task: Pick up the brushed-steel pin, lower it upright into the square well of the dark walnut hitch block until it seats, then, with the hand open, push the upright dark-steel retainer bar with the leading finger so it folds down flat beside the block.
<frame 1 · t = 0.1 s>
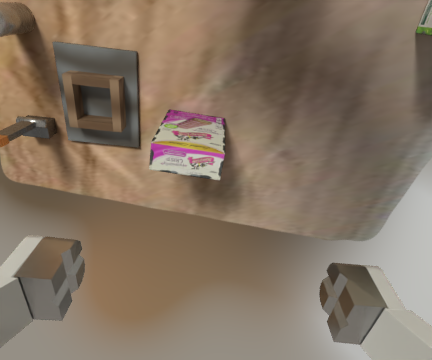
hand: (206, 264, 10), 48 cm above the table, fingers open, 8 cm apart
retainer base: (41, 116, 57), on the table
hitch block: (101, 98, 55), on the table
retainer bar: (11, 132, 49), point 9 cm above the table, hinge at 4.0°
candy bar box: (195, 123, 58), on the table
steel pin: (21, 17, 48), on the table
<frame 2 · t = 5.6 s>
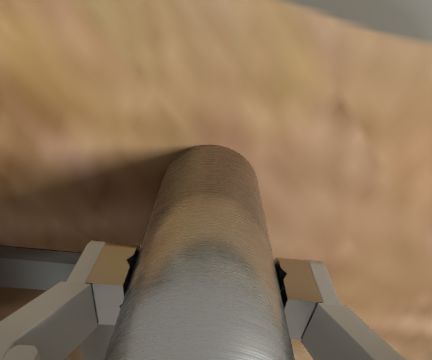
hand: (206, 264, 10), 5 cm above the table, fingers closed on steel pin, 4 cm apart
hitch block: (11, 322, 19), on the table
steel pin: (210, 188, 14), on the table, touching gripper
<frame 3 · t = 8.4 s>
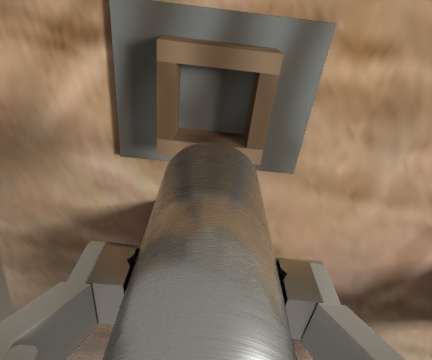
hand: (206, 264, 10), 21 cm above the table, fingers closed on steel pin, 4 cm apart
hitch block: (215, 95, 27), on the table
steel pin: (210, 185, 14), point 16 cm above the table, touching gripper
when the fingers open (7 cm above the table, at t = 11.3 s): steel pin drops 1 cm, resting on hitch block.
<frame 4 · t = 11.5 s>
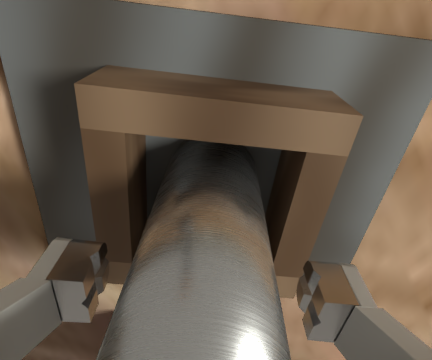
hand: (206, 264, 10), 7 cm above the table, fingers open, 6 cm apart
hitch block: (211, 167, 15), on the table
steel pin: (212, 175, 15), point 1 cm above the table, touching hitch block
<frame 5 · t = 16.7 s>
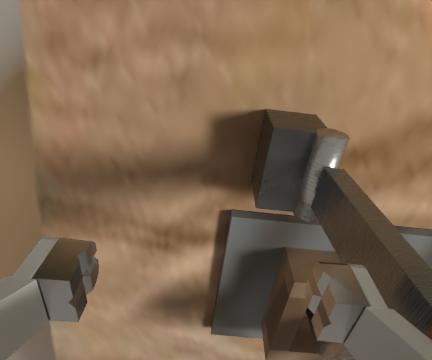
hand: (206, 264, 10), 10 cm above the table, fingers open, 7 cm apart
retainer base: (304, 153, 19), on the table
hitch block: (325, 286, 25), on the table
retainer bar: (378, 263, 11), point 9 cm above the table, hinge at 4.3°, touching gripper
steel pin: (328, 294, 24), point 1 cm above the table, touching hitch block
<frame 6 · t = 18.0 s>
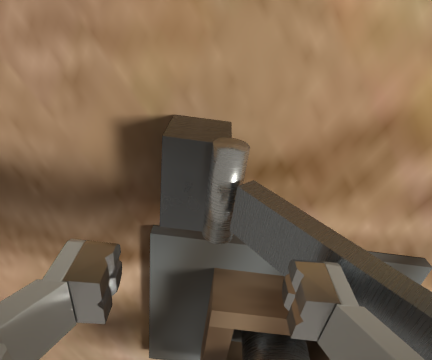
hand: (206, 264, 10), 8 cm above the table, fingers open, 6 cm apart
retainer base: (224, 164, 16), on the table
hitch block: (268, 310, 23), on the table
retainer bar: (342, 279, 10), point 8 cm above the table, hinge at 42.6°, touching gripper
steel pin: (270, 319, 22), point 1 cm above the table, touching hitch block
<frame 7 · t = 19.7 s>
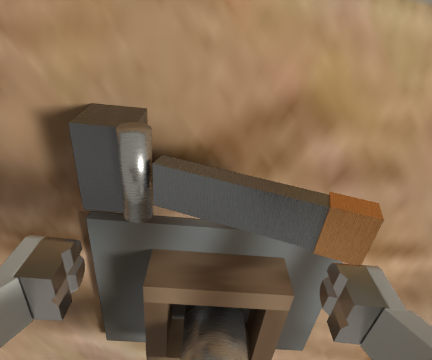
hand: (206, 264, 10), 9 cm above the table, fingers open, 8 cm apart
retainer base: (148, 149, 17), on the table
hitch block: (213, 287, 24), on the table
retainer bar: (255, 205, 14), point 5 cm above the table, hinge at 72.1°
steel pin: (214, 296, 23), point 1 cm above the table, touching hitch block
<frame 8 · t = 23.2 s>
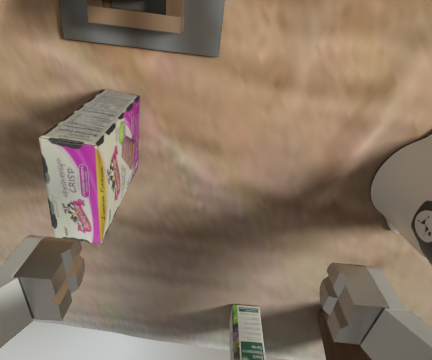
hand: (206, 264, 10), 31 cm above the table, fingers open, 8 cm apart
syrup box: (244, 312, 61), on the table
candy bar box: (123, 130, 41), on the table
plant pot: (346, 313, 61), on the table
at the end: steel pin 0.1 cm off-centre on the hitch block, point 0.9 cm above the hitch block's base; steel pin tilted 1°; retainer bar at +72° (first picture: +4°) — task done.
